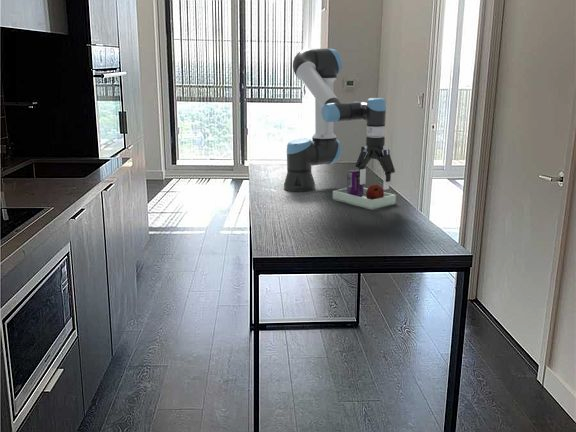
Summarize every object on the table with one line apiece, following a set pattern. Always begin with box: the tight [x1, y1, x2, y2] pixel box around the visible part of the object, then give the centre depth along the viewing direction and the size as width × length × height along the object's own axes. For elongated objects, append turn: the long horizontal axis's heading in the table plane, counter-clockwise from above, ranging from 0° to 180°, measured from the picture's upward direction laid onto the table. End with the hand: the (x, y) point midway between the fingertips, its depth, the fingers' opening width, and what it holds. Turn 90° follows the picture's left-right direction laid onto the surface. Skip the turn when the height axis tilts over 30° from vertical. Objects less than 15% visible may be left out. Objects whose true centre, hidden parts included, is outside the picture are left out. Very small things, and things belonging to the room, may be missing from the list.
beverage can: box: [346, 168, 365, 197], centre depth 247 cm, size 7×7×12 cm
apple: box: [366, 183, 385, 200], centre depth 238 cm, size 7×8×8 cm
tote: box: [332, 187, 397, 211], centre depth 244 cm, size 24×15×4 cm, turn 38°
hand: (374, 186), depth 238 cm, fingers open, 13 cm apart
